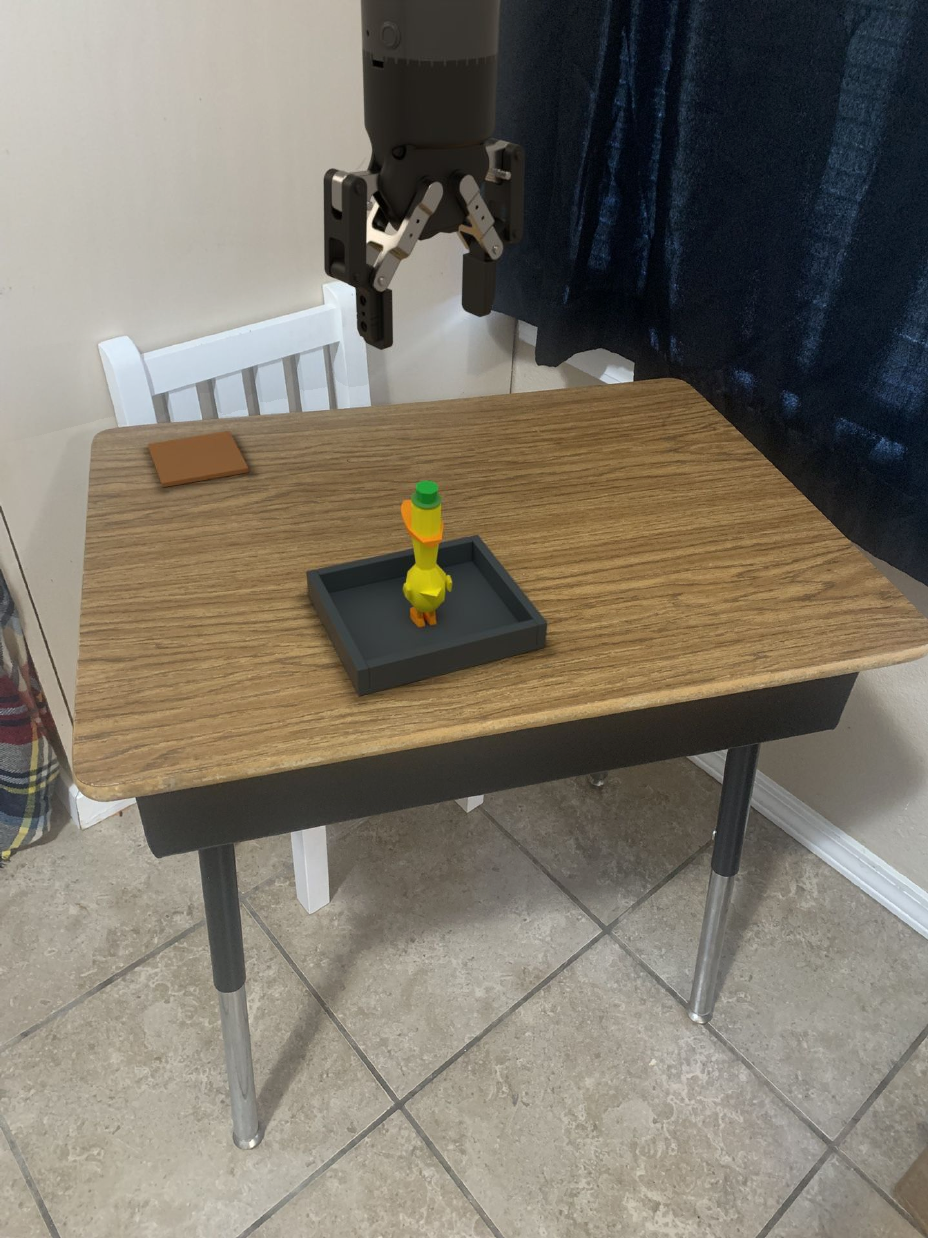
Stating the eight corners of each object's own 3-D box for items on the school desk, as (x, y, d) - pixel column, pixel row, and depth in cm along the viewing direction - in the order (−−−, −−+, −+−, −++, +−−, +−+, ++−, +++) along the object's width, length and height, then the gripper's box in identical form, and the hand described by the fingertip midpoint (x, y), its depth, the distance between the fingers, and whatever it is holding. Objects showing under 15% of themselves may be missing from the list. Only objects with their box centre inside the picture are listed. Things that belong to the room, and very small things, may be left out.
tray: (359, 696, 68) (357, 670, 67) (307, 595, 77) (305, 570, 76) (545, 647, 73) (547, 622, 71) (476, 558, 82) (477, 533, 80)
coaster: (162, 487, 89) (161, 482, 89) (148, 448, 95) (147, 443, 95) (249, 472, 92) (248, 467, 92) (230, 434, 98) (229, 430, 98)
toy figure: (388, 595, 77) (385, 460, 69) (431, 587, 78) (433, 453, 70) (414, 648, 72) (413, 507, 64) (459, 638, 73) (464, 499, 65)
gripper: (476, 24, 60) (468, 289, 70) (282, 43, 52) (304, 338, 62) (568, 40, 55) (545, 319, 65) (372, 63, 48) (380, 376, 58)
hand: (428, 328), depth 64 cm, fingers open, 8 cm apart
